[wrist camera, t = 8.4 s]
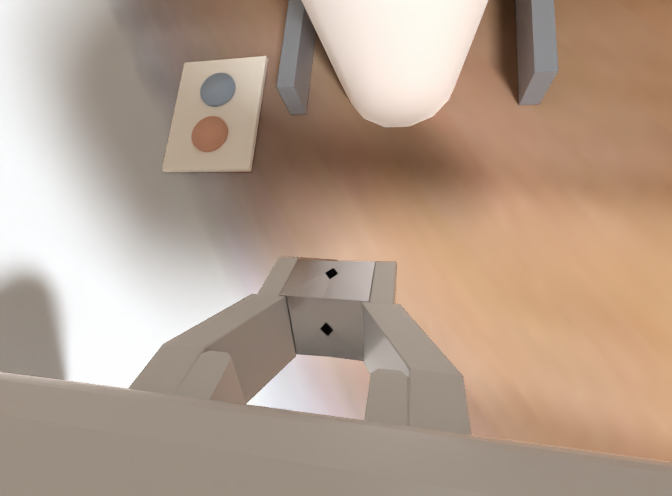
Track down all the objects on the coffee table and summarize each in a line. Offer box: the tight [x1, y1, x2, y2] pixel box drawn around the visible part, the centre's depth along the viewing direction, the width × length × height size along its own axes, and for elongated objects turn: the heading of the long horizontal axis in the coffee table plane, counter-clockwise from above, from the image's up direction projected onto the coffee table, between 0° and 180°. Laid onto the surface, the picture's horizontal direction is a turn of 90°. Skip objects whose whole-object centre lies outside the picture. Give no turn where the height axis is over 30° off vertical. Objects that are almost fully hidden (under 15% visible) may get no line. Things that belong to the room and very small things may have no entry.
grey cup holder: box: [276, 0, 558, 115], centre depth 20 cm, size 9×14×3 cm, turn 85°
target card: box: [162, 56, 268, 172], centre depth 23 cm, size 8×6×1 cm
